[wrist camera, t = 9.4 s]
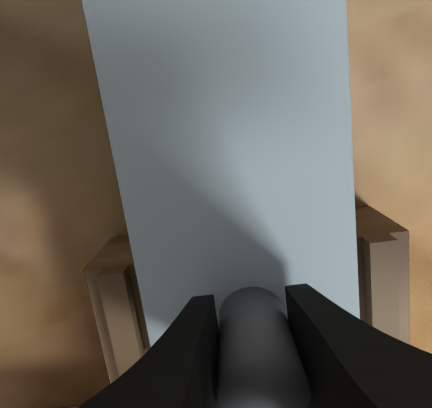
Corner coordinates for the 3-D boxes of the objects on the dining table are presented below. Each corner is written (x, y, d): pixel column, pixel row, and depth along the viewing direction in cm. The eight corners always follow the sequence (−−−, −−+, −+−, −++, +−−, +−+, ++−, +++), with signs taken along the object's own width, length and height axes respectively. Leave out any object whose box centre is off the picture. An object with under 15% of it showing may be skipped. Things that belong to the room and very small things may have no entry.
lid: (354, 337, 12) (414, 437, 8) (158, 359, 12) (131, 466, 9) (333, -92, 9) (411, -231, 5) (78, -52, 9) (-14, -159, 6)
